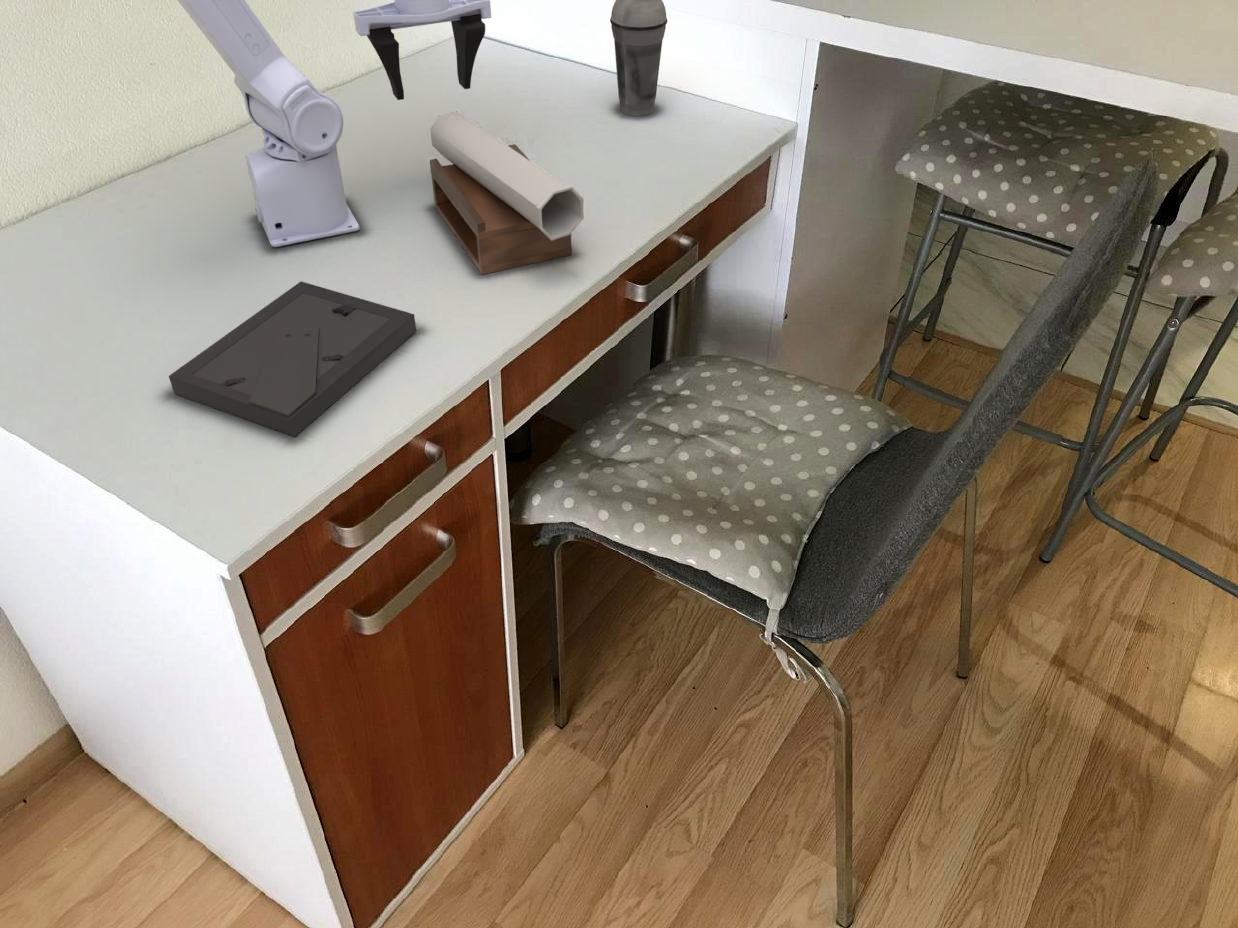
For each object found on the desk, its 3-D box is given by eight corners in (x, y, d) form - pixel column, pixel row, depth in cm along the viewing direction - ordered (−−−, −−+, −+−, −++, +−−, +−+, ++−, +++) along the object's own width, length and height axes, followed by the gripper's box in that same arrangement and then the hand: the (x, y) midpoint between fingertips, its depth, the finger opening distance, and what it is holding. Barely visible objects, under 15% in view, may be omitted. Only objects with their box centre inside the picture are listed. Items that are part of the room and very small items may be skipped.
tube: (413, 121, 116) (531, 207, 100) (452, 95, 117) (575, 177, 101) (432, 161, 120) (548, 249, 104) (470, 136, 121) (591, 220, 105)
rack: (482, 274, 108) (477, 223, 104) (434, 208, 119) (429, 159, 115) (571, 254, 111) (570, 204, 107) (518, 191, 122) (515, 144, 118)
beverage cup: (602, 102, 142) (602, -58, 129) (653, 96, 144) (658, -62, 131) (619, 123, 137) (620, -41, 124) (671, 117, 139) (678, -46, 126)
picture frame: (295, 437, 88) (416, 331, 100) (289, 416, 86) (413, 311, 99) (173, 394, 92) (304, 297, 104) (166, 373, 91) (300, 277, 103)
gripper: (471, -56, 114) (481, 69, 123) (338, -41, 109) (359, 88, 118) (493, -39, 109) (502, 90, 118) (355, -22, 105) (375, 111, 113)
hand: (432, 91), depth 118 cm, fingers open, 7 cm apart
